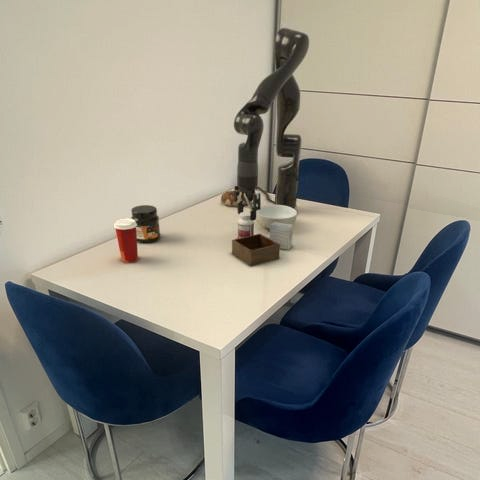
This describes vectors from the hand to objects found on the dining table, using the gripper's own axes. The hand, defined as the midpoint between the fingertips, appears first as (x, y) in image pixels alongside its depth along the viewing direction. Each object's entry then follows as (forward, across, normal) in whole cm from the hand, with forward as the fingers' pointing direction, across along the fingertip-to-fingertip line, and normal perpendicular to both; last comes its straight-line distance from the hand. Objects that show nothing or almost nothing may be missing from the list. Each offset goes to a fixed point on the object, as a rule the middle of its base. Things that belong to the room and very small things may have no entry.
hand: (246, 216), depth 174 cm
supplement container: (+10, +23, +32) cm, 40 cm away
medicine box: (+10, -11, -8) cm, 17 cm away
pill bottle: (+10, 0, 0) cm, 10 cm away
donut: (+10, +42, -22) cm, 49 cm away
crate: (+10, -14, +5) cm, 18 cm away
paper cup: (+10, +8, +45) cm, 47 cm away
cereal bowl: (+10, +6, -19) cm, 22 cm away
